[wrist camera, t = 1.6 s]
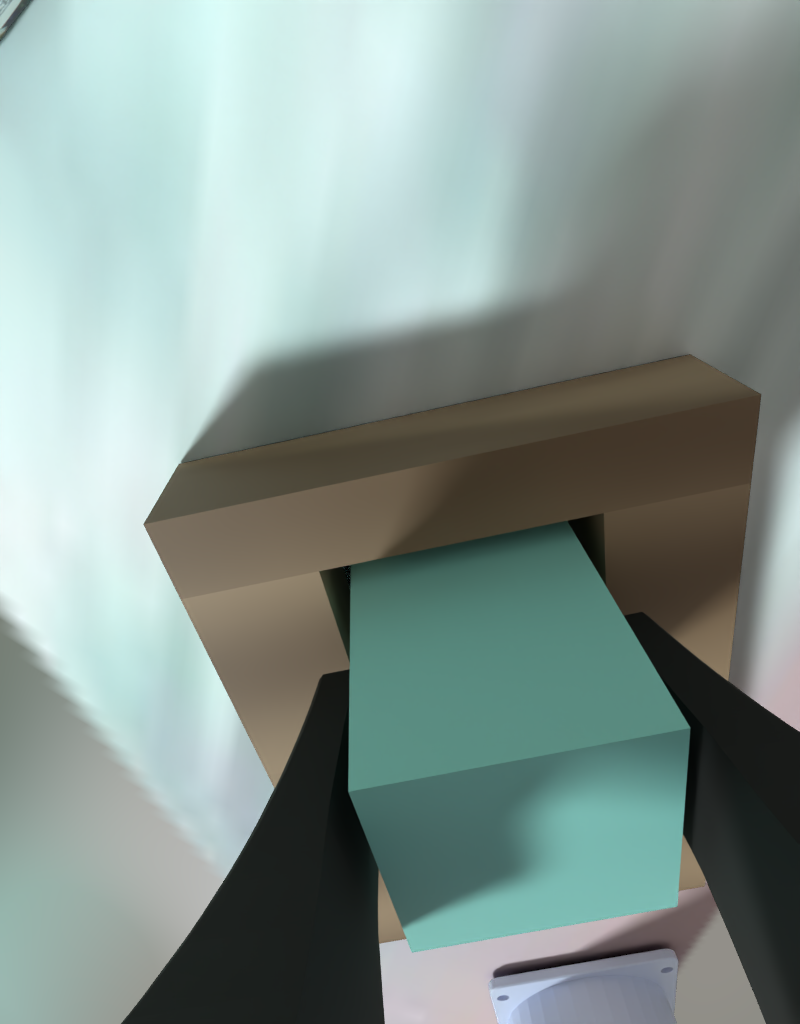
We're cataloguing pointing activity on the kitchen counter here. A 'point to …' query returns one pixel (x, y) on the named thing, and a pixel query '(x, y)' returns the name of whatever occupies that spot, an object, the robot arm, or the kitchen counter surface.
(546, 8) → the kitchen counter surface
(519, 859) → the teal block
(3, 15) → the syrup box
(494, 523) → the pocket plate
